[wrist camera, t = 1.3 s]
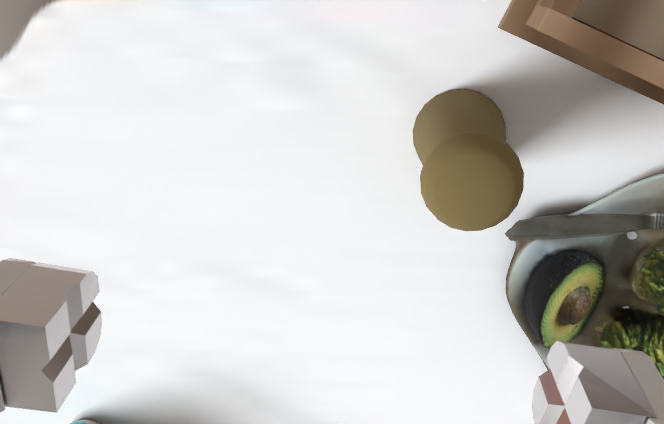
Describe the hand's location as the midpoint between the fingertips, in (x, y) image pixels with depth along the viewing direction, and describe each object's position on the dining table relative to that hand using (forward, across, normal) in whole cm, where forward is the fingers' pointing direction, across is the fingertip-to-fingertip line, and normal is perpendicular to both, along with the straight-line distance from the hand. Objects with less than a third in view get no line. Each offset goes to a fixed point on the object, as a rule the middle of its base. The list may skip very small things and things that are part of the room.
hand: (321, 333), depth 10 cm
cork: (+29, +8, -6) cm, 30 cm away
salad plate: (+27, +22, -15) cm, 38 cm away
